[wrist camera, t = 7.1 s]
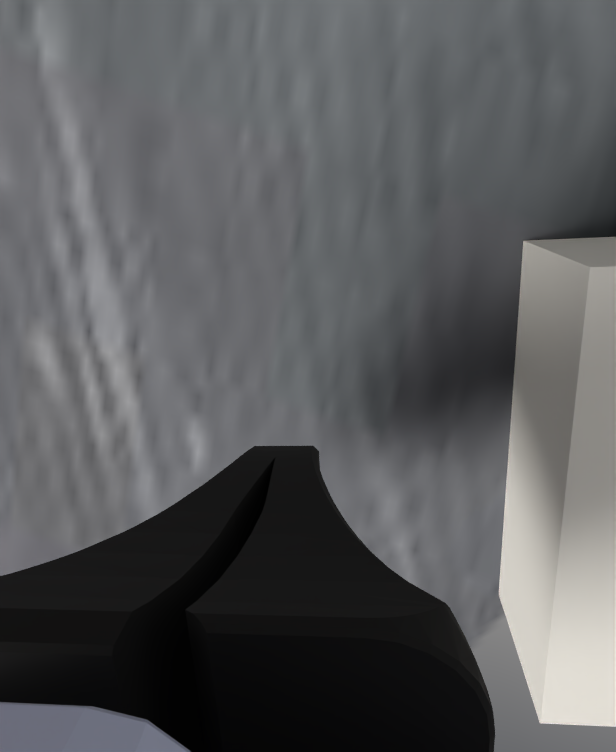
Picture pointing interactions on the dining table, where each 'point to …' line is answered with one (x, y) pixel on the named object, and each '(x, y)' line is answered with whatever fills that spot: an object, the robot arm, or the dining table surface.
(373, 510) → the dining table surface
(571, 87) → the dining table surface
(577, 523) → the block
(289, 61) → the dining table surface
